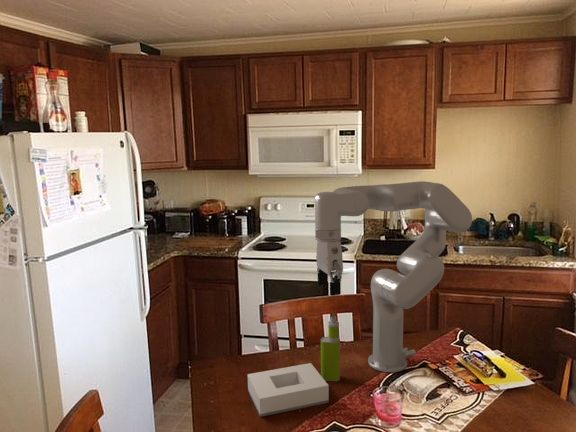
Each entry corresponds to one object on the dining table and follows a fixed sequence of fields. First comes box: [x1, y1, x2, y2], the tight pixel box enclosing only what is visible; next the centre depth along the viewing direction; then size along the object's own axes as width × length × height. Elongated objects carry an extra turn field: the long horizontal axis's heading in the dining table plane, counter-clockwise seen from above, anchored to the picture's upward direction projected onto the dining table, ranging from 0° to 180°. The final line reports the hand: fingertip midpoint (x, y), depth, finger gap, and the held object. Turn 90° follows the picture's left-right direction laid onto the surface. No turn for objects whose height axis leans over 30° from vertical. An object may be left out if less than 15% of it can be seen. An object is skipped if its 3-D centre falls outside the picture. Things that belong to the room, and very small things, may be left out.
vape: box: [320, 315, 341, 382], centre depth 148 cm, size 4×6×20 cm, turn 81°
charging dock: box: [247, 362, 330, 417], centre depth 139 cm, size 20×14×5 cm
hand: (328, 289), depth 144 cm, fingers open, 9 cm apart
